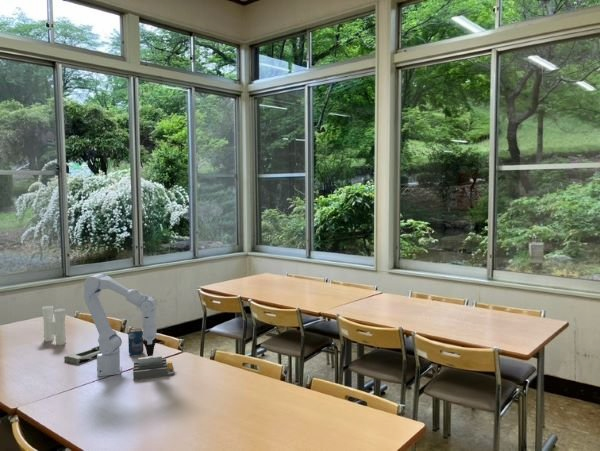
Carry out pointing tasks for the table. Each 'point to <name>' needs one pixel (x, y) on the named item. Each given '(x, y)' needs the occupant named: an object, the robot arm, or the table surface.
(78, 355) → the graphics card
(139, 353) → the soda can
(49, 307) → the binoculars
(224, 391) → the table surface
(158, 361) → the panel
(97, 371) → the robot arm
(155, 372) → the rack
